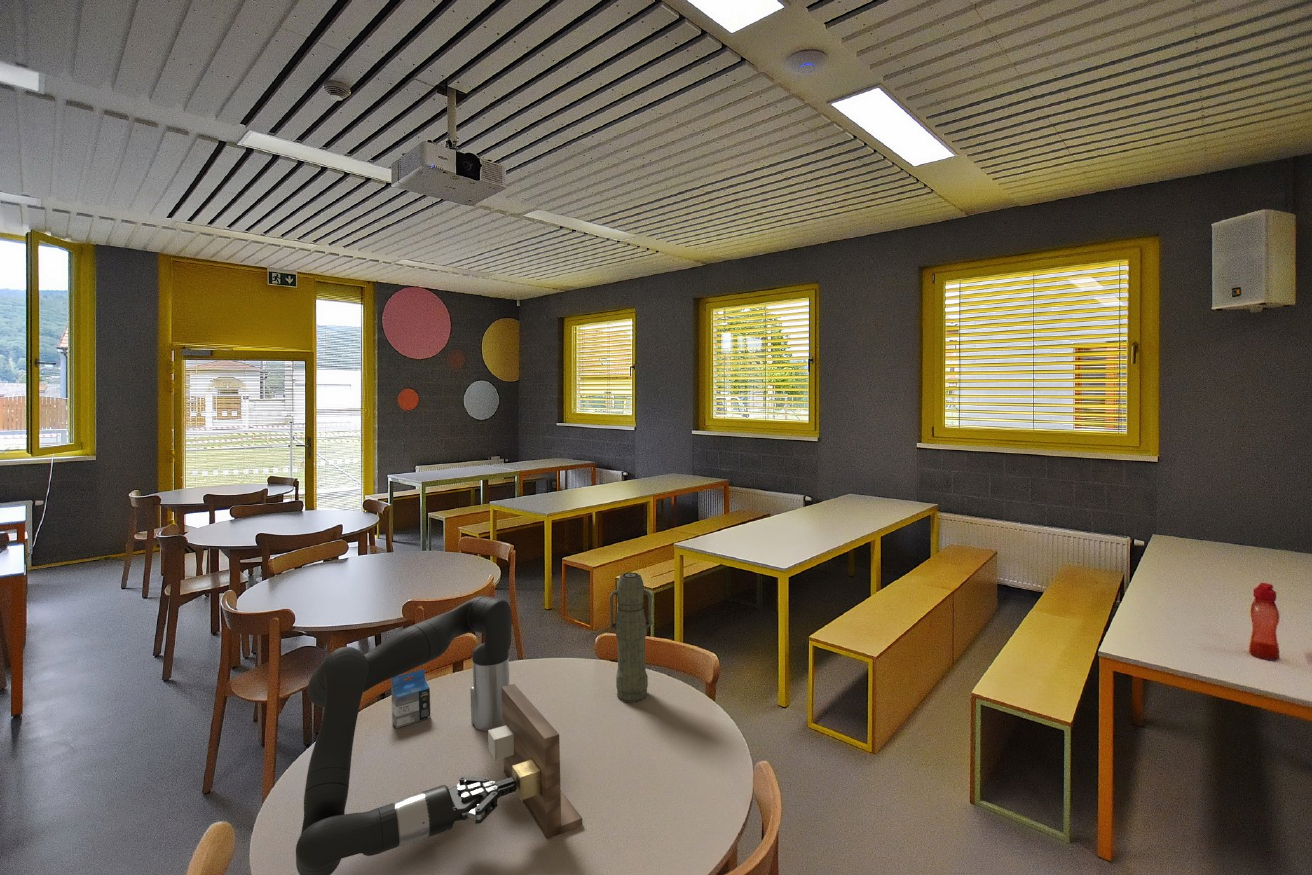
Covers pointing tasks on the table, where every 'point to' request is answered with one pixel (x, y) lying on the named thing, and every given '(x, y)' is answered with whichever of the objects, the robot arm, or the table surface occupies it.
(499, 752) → the key white
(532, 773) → the yellow rectangular block
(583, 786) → the table surface
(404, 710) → the label tape cartridge
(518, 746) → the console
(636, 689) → the thermos
